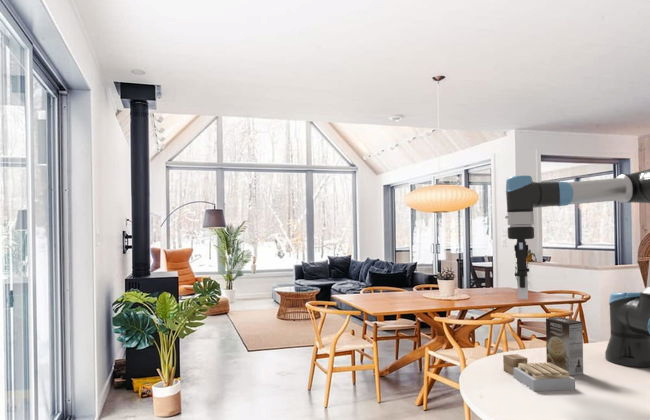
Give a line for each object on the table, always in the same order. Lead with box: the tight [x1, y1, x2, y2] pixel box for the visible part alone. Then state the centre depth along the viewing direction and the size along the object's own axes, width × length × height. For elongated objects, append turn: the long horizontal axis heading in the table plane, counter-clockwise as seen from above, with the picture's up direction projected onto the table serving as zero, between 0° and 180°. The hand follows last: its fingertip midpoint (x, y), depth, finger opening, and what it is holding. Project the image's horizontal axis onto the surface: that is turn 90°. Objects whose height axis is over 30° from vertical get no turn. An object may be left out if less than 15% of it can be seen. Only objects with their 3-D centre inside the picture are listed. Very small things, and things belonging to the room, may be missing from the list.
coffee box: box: [545, 316, 584, 377], centre depth 152 cm, size 9×6×16 cm
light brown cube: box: [502, 353, 528, 376], centre depth 150 cm, size 5×5×5 cm
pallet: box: [518, 362, 570, 379], centre depth 140 cm, size 10×10×2 cm
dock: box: [513, 367, 576, 392], centre depth 140 cm, size 12×12×3 cm
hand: (523, 295), depth 147 cm, fingers open, 13 cm apart
